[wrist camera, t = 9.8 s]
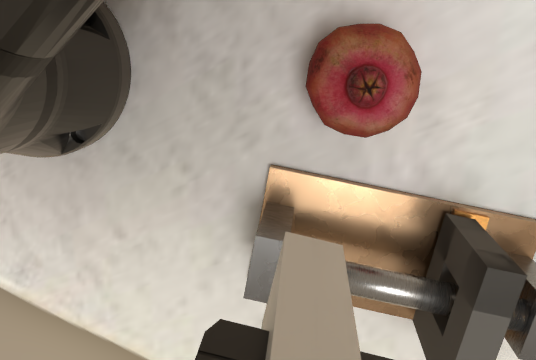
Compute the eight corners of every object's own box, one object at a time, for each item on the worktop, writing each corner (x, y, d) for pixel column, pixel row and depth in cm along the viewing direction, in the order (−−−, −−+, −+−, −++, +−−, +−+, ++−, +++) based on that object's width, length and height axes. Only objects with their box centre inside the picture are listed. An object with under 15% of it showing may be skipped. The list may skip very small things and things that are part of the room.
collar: (412, 320, 42) (440, 401, 32) (445, 213, 39) (487, 267, 29) (440, 326, 41) (477, 409, 32) (475, 219, 39) (527, 275, 29)
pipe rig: (248, 278, 44) (232, 332, 36) (271, 164, 41) (259, 194, 33) (498, 332, 43) (542, 401, 35) (540, 220, 40) (599, 266, 32)
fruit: (387, 140, 40) (409, 169, 30) (294, 110, 40) (286, 129, 30) (425, 43, 37) (461, 42, 28) (326, 11, 38) (329, -1, 28)
